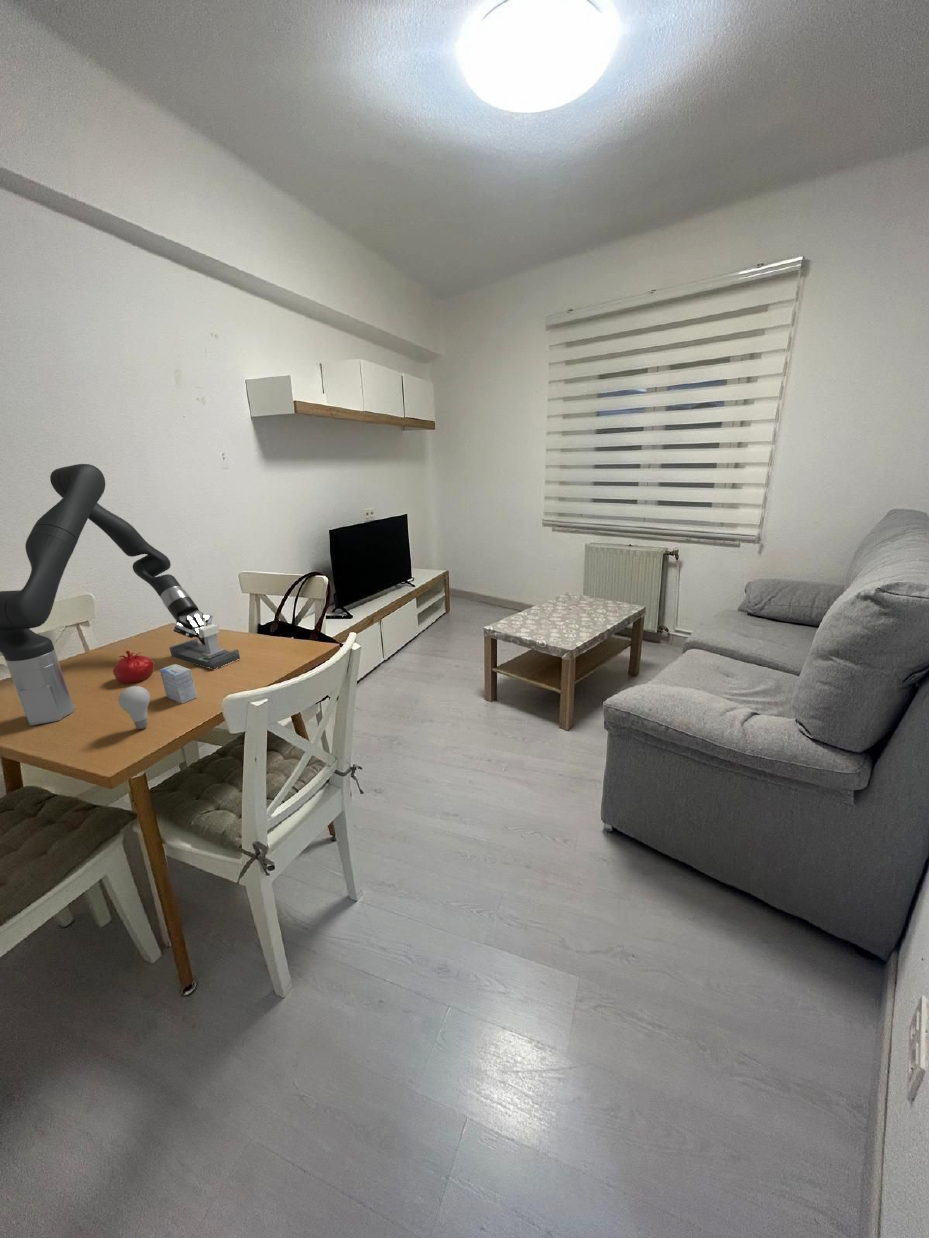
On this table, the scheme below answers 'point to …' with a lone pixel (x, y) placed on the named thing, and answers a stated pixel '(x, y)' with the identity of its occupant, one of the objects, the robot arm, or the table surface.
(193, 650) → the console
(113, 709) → the table surface
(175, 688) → the medicine box
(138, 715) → the lightbulb
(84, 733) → the table surface
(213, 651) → the fader
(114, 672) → the pomegranate
